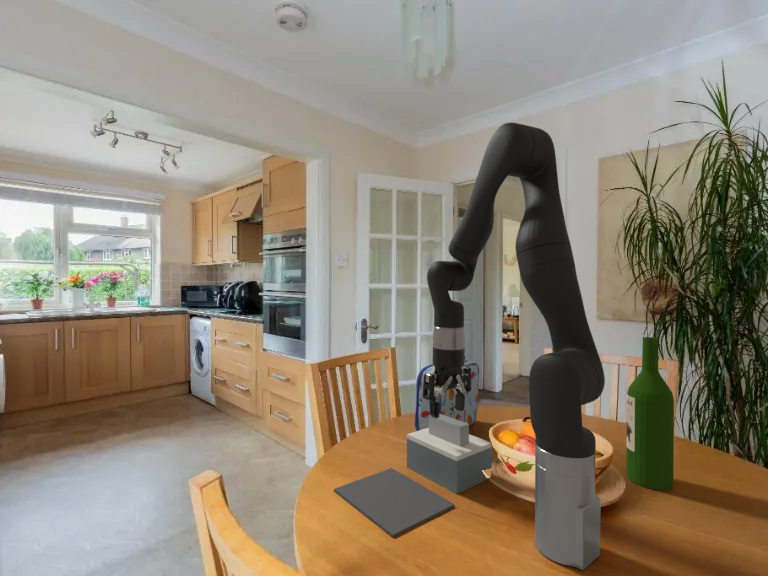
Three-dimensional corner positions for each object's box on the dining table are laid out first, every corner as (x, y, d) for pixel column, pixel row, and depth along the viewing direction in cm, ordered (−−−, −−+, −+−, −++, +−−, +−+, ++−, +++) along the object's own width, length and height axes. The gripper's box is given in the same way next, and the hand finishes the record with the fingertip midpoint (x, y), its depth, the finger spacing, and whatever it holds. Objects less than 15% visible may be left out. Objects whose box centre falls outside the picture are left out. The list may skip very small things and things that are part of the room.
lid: (491, 451, 92) (491, 423, 92) (456, 465, 85) (456, 435, 85) (441, 431, 105) (441, 406, 105) (406, 442, 98) (406, 415, 97)
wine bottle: (620, 470, 96) (621, 334, 96) (661, 473, 94) (663, 336, 94) (635, 488, 88) (636, 340, 87) (681, 492, 86) (683, 341, 85)
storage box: (491, 477, 92) (491, 447, 92) (456, 494, 85) (456, 461, 85) (441, 454, 105) (441, 427, 105) (406, 466, 98) (406, 438, 98)
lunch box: (454, 414, 137) (454, 350, 137) (483, 421, 131) (483, 353, 131) (410, 439, 115) (410, 363, 115) (442, 448, 109) (442, 367, 109)
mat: (454, 506, 80) (454, 504, 80) (392, 537, 70) (392, 534, 70) (391, 470, 96) (391, 467, 96) (333, 491, 86) (333, 488, 86)
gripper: (438, 351, 87) (438, 424, 88) (480, 345, 96) (479, 412, 96) (415, 346, 93) (414, 415, 94) (456, 341, 102) (455, 404, 102)
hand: (447, 413), depth 95 cm, fingers open, 8 cm apart
